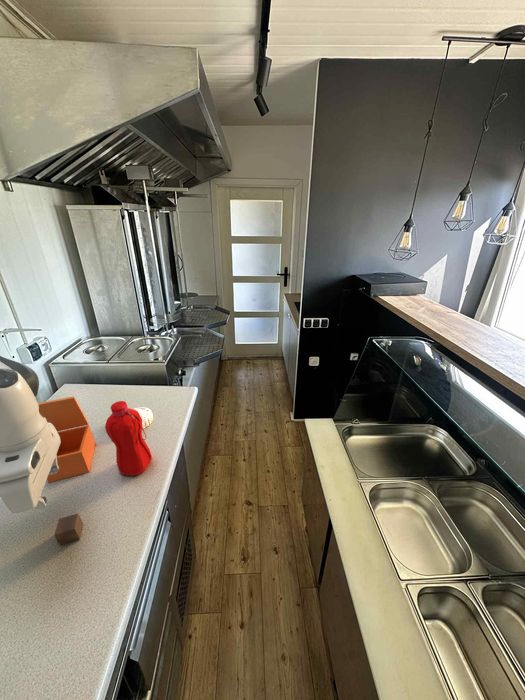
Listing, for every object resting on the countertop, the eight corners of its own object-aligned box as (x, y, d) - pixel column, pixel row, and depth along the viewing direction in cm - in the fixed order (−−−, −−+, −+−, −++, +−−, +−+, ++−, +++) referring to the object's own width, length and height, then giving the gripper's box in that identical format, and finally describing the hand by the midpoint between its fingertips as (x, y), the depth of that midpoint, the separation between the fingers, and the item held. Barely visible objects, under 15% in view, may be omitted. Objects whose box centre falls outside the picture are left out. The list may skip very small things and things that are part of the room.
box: (89, 471, 93) (81, 452, 89) (48, 482, 90) (38, 462, 86) (95, 443, 105) (88, 424, 101) (59, 452, 101) (51, 433, 98)
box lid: (73, 398, 91) (74, 396, 92) (31, 406, 88) (31, 404, 88) (88, 424, 101) (88, 422, 101) (50, 433, 97) (50, 431, 98)
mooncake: (117, 421, 116) (115, 414, 114) (146, 409, 123) (144, 402, 121) (127, 437, 108) (125, 429, 106) (158, 422, 115) (156, 415, 113)
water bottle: (146, 479, 90) (128, 416, 79) (115, 475, 92) (93, 412, 81) (160, 457, 98) (146, 397, 87) (131, 453, 100) (114, 394, 89)
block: (60, 546, 73) (54, 535, 71) (64, 529, 76) (58, 518, 74) (80, 539, 74) (74, 528, 72) (83, 523, 78) (78, 512, 76)
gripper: (25, 415, 67) (46, 458, 73) (-17, 486, 50) (14, 535, 56) (56, 409, 69) (74, 452, 75) (26, 475, 52) (52, 523, 58)
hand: (48, 488), depth 65 cm, fingers open, 8 cm apart
